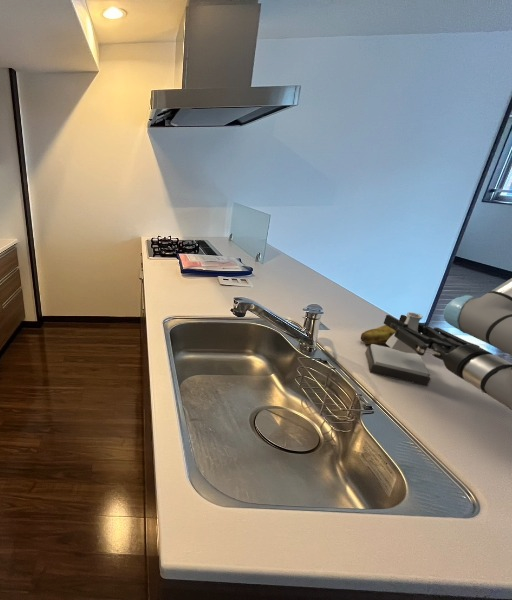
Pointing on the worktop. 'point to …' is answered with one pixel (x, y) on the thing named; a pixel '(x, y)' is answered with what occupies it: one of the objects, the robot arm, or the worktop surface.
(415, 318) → the flask
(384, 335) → the potato
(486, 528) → the worktop surface
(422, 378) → the scale
